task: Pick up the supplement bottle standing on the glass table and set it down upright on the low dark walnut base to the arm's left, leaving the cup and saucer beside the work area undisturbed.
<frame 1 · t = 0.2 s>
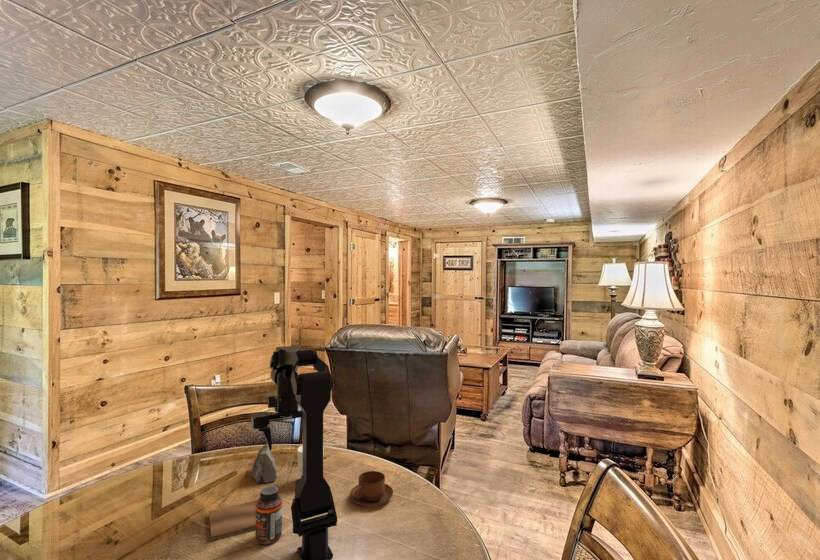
hand: (287, 446, 113), 14 cm above the table, tool pointing down, fingers open, 9 cm apart
cup and saucer: (371, 499, 113), on the table
walnut base: (236, 520, 102), on the table
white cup: (310, 481, 123), on the table
supplement bottle: (268, 538, 95), on the table
mineral rock: (266, 474, 128), on the table
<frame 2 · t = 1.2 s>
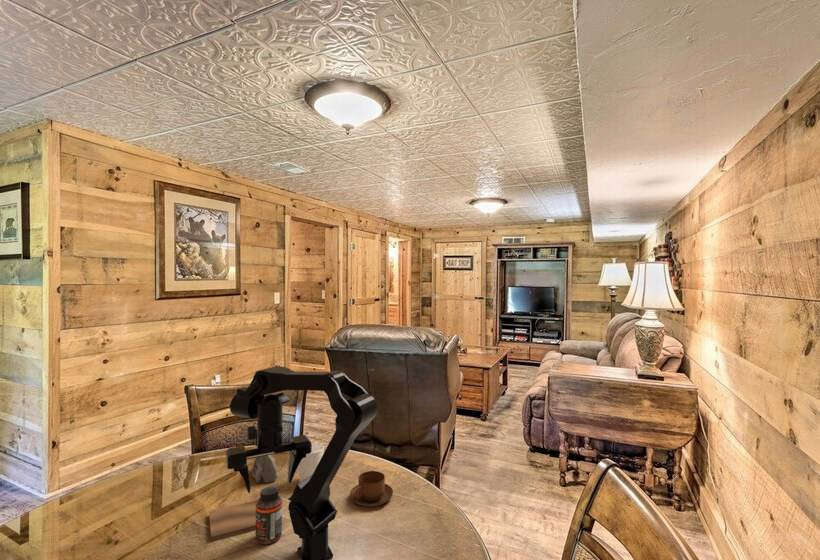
hand: (269, 487, 95), 12 cm above the table, tool pointing down, fingers open, 9 cm apart
nothing on the table moved.
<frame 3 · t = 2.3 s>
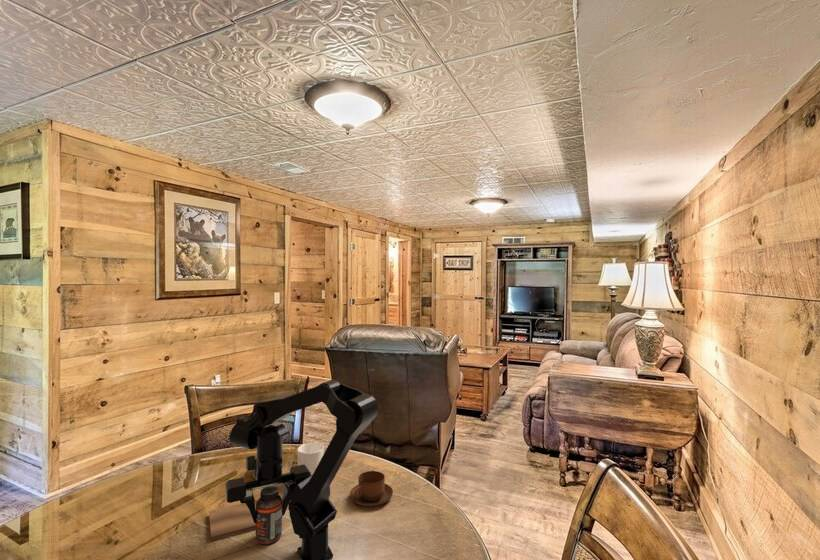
hand: (269, 518, 95), 5 cm above the table, tool pointing down, fingers closed on supplement bottle, 6 cm apart
supplement bottle: (268, 538, 95), on the table, touching gripper
everything else where it was.
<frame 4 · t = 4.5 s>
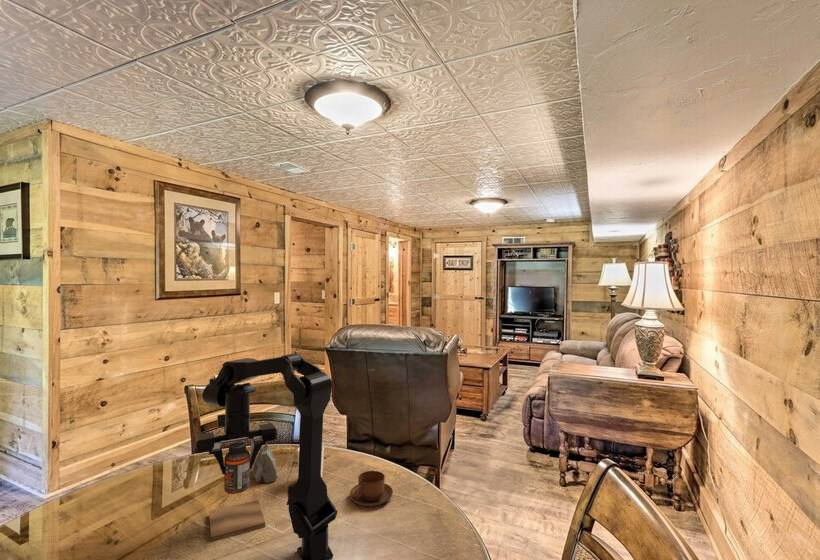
hand: (237, 471, 102), 13 cm above the table, tool pointing down, fingers closed on supplement bottle, 6 cm apart
supplement bottle: (237, 489, 102), point 8 cm above the table, touching gripper
everything else where it was.
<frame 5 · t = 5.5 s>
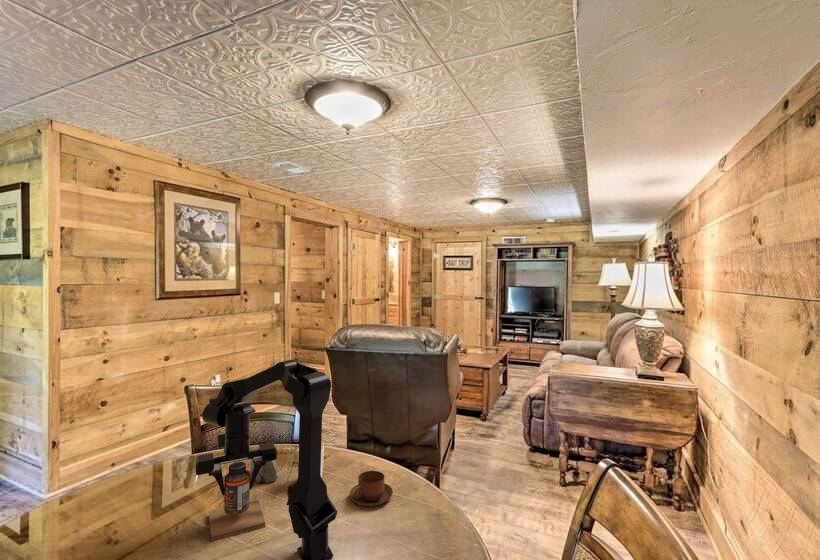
hand: (237, 491, 102), 7 cm above the table, tool pointing down, fingers closed on supplement bottle, 6 cm apart
supplement bottle: (236, 510, 102), point 3 cm above the table, touching gripper
everything else where it was.
when the fingers open (6 cm above the table, at t = 6.4 s): supplement bottle stays where it is, resting on walnut base.
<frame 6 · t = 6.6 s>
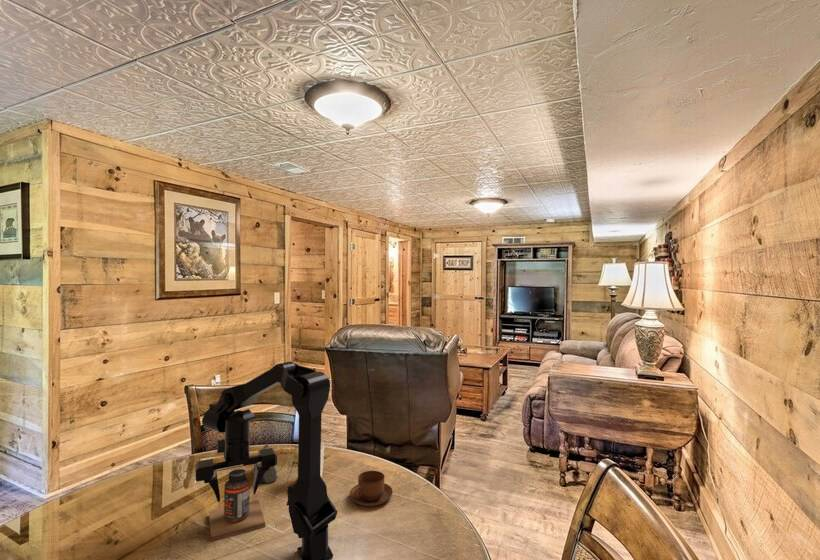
hand: (236, 497, 102), 6 cm above the table, tool pointing down, fingers open, 8 cm apart
supplement bottle: (236, 517, 102), point 1 cm above the table, touching walnut base
everything else where it was.
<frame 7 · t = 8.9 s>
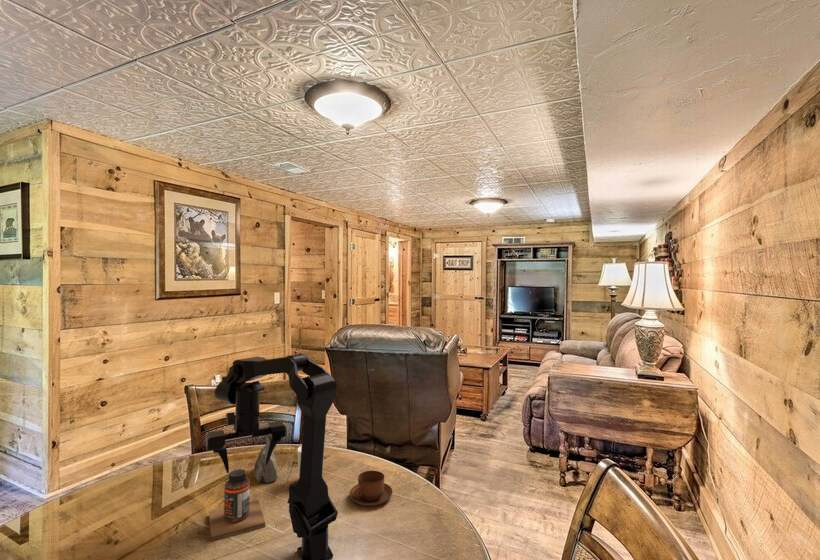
hand: (247, 468, 103), 13 cm above the table, tool pointing down, fingers open, 9 cm apart
nothing on the table moved.
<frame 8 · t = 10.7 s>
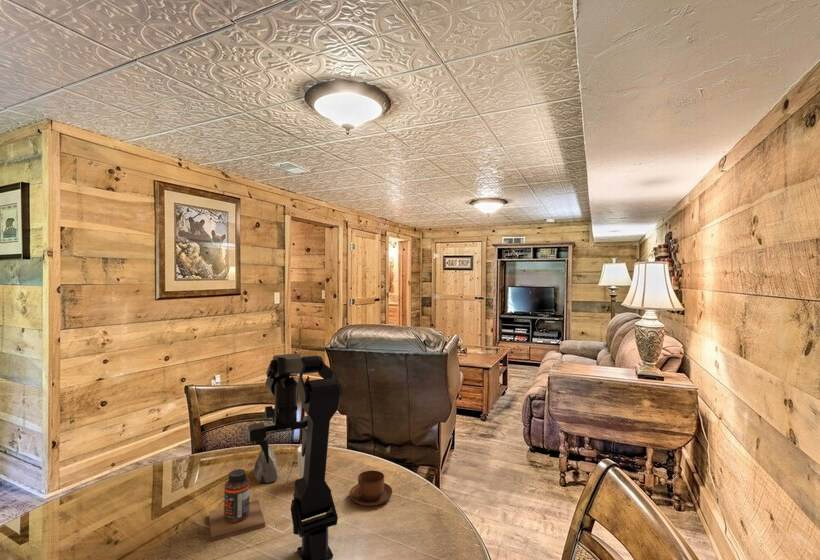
hand: (285, 459, 108), 13 cm above the table, tool pointing down, fingers open, 9 cm apart
nothing on the table moved.
at the end: supplement bottle inside the target area on the walnut base (0.1 cm from its centre), point 0.8 cm above the walnut base's base; supplement bottle tilted 0°; cup and saucer tilted 0° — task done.
